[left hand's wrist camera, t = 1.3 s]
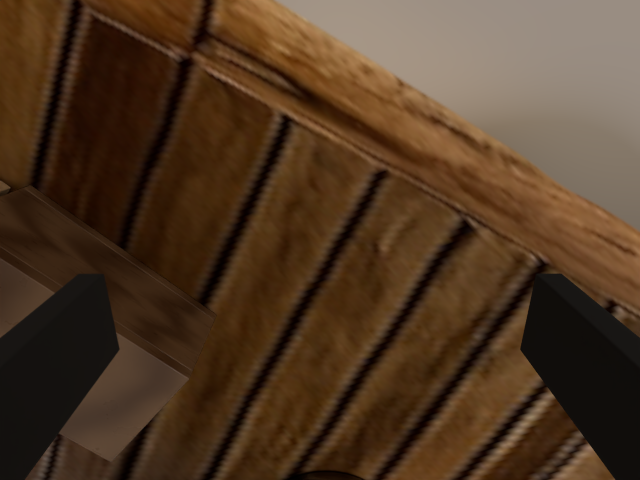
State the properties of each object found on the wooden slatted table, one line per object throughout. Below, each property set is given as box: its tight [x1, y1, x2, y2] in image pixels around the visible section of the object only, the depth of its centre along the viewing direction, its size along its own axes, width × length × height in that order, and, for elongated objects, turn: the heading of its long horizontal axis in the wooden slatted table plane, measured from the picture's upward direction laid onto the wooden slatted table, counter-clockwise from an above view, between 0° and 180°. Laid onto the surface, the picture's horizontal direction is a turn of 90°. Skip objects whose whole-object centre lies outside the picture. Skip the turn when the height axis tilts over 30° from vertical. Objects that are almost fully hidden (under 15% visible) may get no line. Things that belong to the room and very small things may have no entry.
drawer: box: [0, 180, 11, 197], centre depth 33 cm, size 24×10×7 cm, turn 49°
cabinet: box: [0, 185, 216, 462], centre depth 35 cm, size 19×11×9 cm, turn 49°
